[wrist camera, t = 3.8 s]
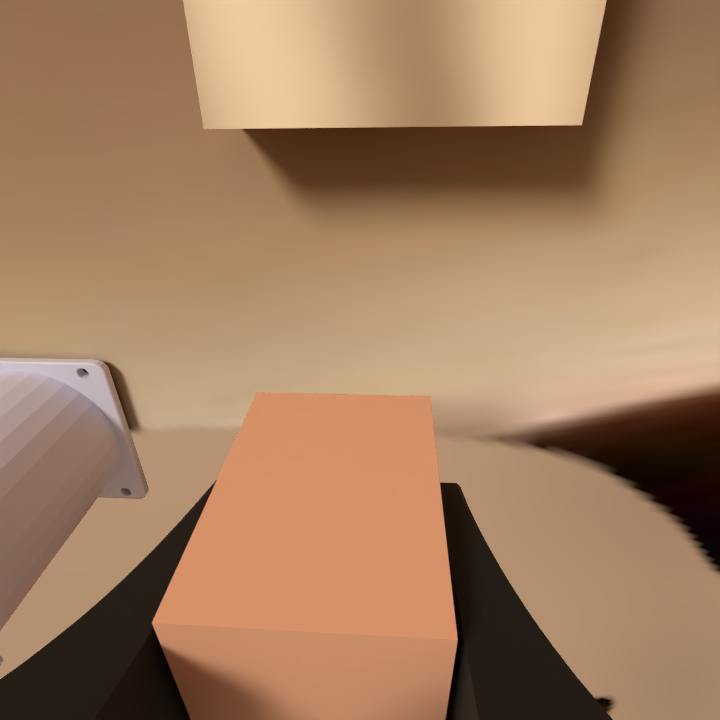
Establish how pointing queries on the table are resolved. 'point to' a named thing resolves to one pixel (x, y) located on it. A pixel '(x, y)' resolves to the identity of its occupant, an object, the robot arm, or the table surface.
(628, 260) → the table surface
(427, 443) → the terracotta block
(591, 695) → the robot arm
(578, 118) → the birch base block
